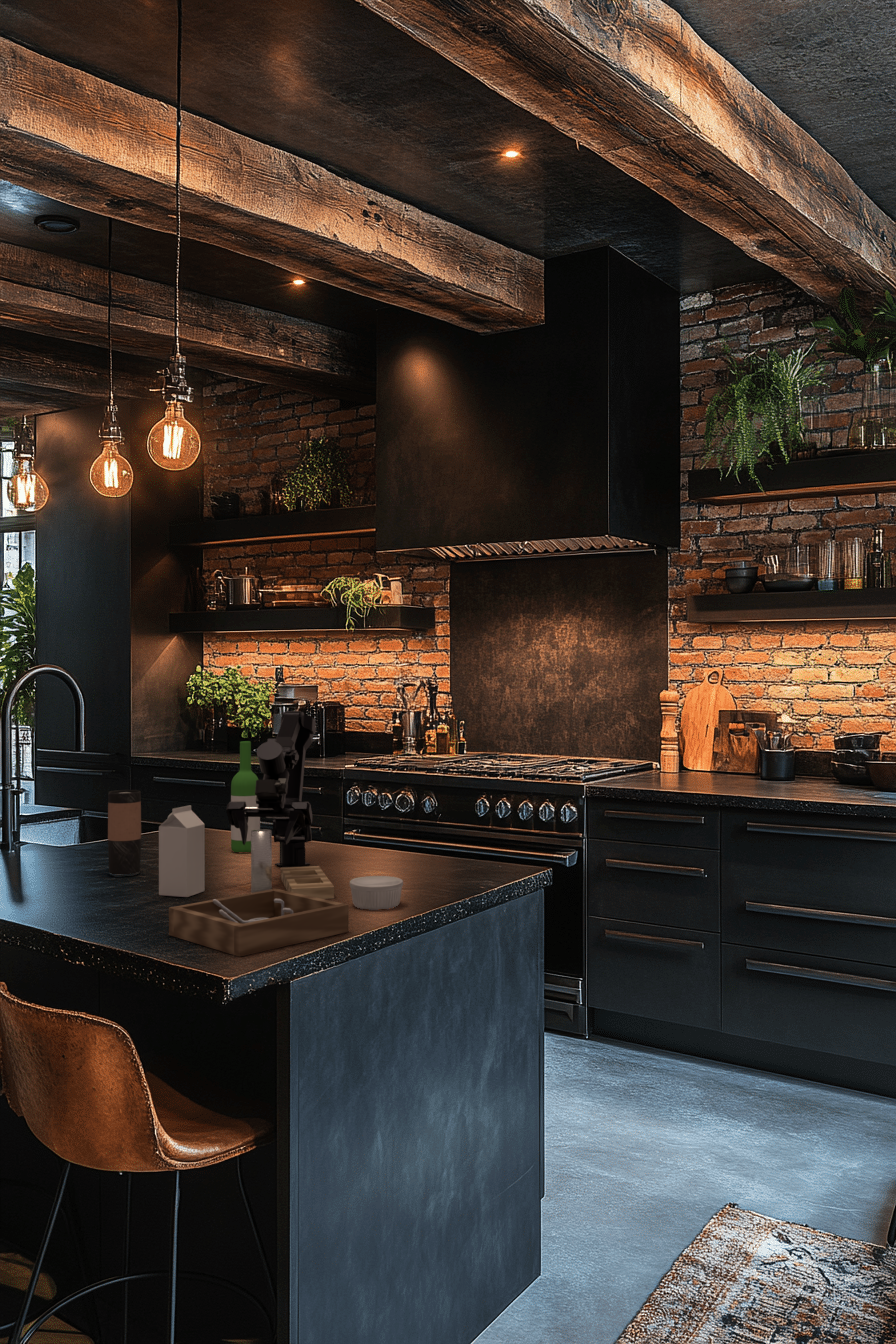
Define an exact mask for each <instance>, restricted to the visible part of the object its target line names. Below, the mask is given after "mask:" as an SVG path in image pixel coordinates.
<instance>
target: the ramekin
mask: <svg viewBox="0 0 896 1344" xmlns="http://www.w3.org/2000/svg"><path fill="white" fill-rule="evenodd" d="M349 887H350V893H351V899H352V904H353V905H354V907H355V908H356V907H357V909H359V908H360V909H359V910H363V909H369V910H368V911H379V910H378V909H387V910H390V909H389V908H392V909H394V908H393V907H395V908H397V907H398V905H399V904H401V903H400V902H401V897H402V889H403V887H404V880H403V879H402V878H399V877H396V876H388V875H370V876H369V875H368V876H367V875H366V876H361V877H355V878H352V879H351V880H350V881H349ZM396 906H397V907H396Z"/></svg>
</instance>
